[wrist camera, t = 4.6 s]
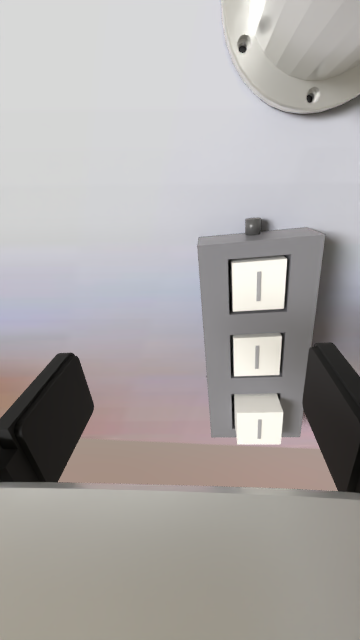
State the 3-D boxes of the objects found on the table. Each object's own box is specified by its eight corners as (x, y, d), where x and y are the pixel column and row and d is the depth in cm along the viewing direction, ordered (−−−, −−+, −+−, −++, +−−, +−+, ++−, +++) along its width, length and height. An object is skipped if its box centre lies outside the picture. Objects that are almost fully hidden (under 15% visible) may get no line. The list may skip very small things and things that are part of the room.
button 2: (229, 256, 22) (232, 263, 20) (278, 251, 22) (287, 258, 20) (230, 300, 24) (232, 311, 22) (276, 297, 24) (283, 308, 21)
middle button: (230, 325, 25) (233, 338, 23) (274, 322, 25) (282, 336, 22) (231, 360, 27) (234, 376, 25) (272, 359, 26) (279, 375, 24)
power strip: (197, 222, 23) (196, 228, 19) (307, 212, 22) (327, 216, 18) (210, 409, 32) (211, 437, 28) (289, 408, 31) (300, 437, 27)
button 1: (234, 393, 26) (236, 413, 24) (276, 392, 26) (283, 412, 23) (234, 423, 28) (237, 444, 26) (274, 423, 27) (280, 444, 25)
